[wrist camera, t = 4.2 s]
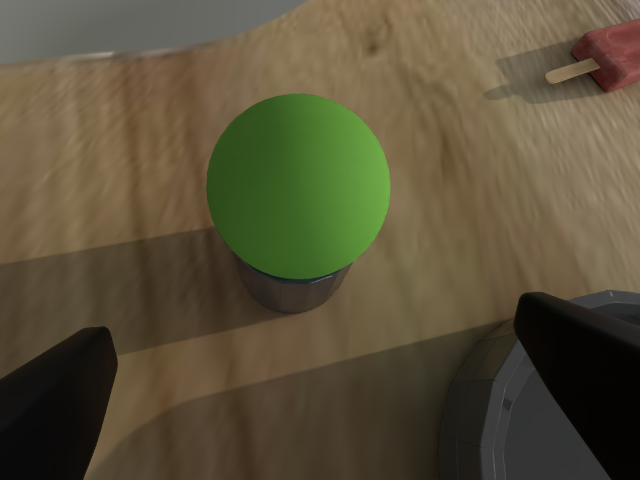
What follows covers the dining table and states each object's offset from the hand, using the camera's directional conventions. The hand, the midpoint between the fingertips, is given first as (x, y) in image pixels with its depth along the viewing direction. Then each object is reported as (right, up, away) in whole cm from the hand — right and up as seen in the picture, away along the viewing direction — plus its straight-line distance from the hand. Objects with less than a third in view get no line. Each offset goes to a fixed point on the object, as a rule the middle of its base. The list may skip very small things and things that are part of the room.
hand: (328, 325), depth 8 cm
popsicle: (+22, +16, +22) cm, 35 cm away
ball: (-1, +4, +5) cm, 7 cm away
